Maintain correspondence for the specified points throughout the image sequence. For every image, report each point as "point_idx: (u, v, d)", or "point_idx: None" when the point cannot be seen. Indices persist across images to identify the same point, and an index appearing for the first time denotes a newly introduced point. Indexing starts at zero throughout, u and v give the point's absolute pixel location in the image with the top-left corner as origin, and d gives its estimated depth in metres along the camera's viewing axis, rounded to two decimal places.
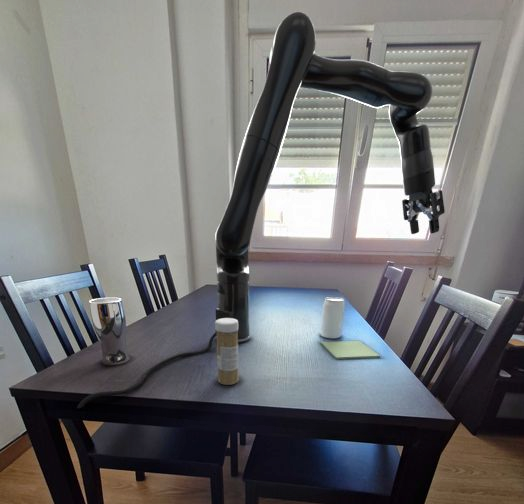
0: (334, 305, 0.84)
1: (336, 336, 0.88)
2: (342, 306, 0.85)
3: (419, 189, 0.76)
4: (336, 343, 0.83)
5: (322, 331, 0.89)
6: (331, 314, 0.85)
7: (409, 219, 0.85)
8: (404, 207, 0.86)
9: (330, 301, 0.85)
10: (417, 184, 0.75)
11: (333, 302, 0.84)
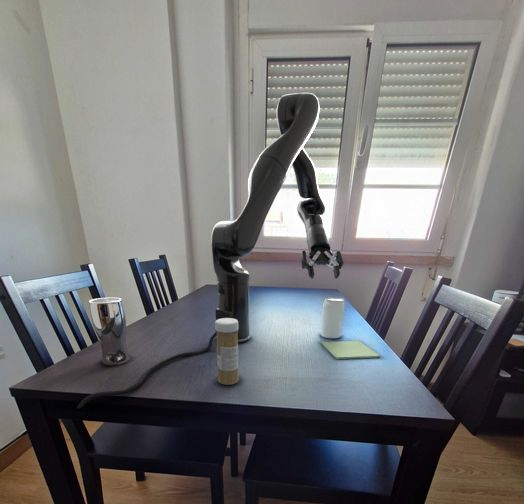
0: (334, 305, 0.84)
1: (336, 336, 0.88)
2: (342, 306, 0.85)
3: (329, 244, 0.98)
4: (336, 343, 0.83)
5: (322, 331, 0.89)
6: (331, 314, 0.85)
7: (311, 263, 0.96)
8: (305, 255, 0.97)
9: (330, 301, 0.85)
10: (328, 241, 0.99)
11: (333, 302, 0.84)
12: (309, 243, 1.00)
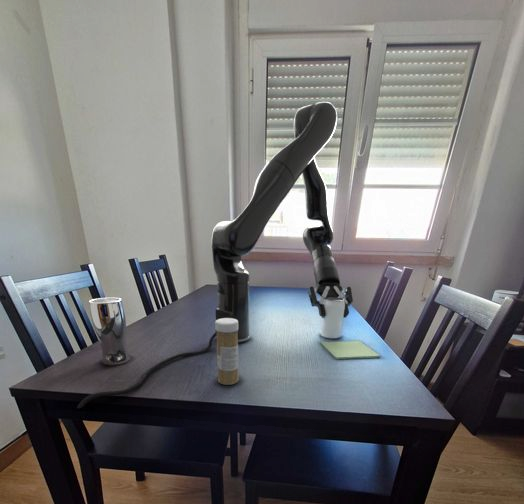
0: (334, 305, 0.84)
1: (336, 336, 0.88)
2: (342, 306, 0.85)
3: None
4: (336, 343, 0.83)
5: (322, 331, 0.89)
6: (331, 314, 0.85)
7: (322, 301, 0.87)
8: (313, 292, 0.88)
9: (330, 301, 0.85)
10: (338, 275, 0.91)
11: (333, 302, 0.84)
12: (317, 276, 0.91)
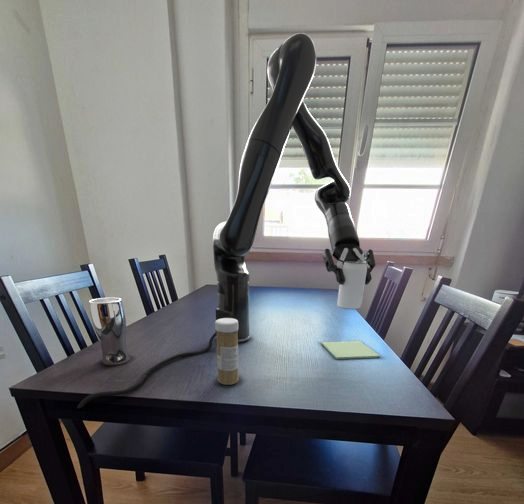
0: (355, 269, 0.71)
1: (356, 306, 0.75)
2: (364, 270, 0.72)
3: None
4: (336, 343, 0.83)
5: (339, 301, 0.76)
6: (351, 280, 0.72)
7: (340, 265, 0.74)
8: (329, 254, 0.75)
9: (350, 263, 0.72)
10: (357, 235, 0.78)
11: (354, 265, 0.71)
12: (333, 238, 0.78)
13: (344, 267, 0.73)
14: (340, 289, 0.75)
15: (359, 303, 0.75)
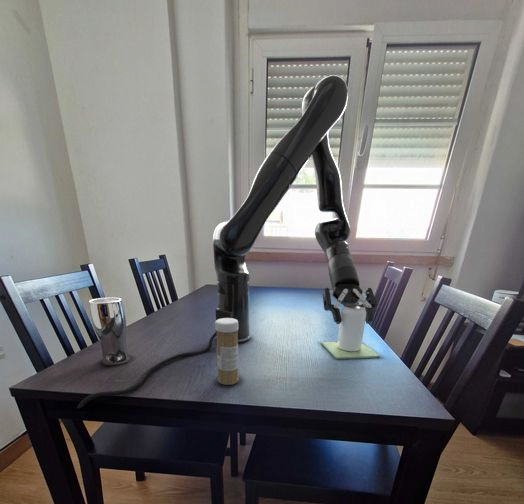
0: (354, 314, 0.73)
1: (356, 349, 0.76)
2: (364, 314, 0.73)
3: (358, 280, 0.78)
4: (336, 343, 0.83)
5: (339, 343, 0.77)
6: (351, 324, 0.74)
7: (337, 305, 0.75)
8: (328, 294, 0.76)
9: (350, 309, 0.73)
10: (357, 275, 0.79)
11: (354, 310, 0.73)
12: (333, 278, 0.79)
13: (344, 311, 0.74)
14: (340, 332, 0.77)
15: (359, 346, 0.76)
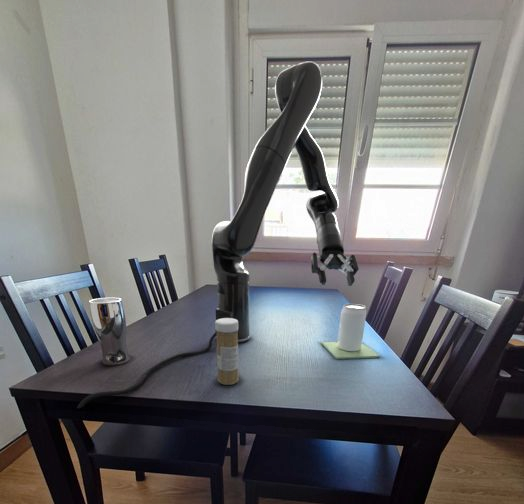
0: (354, 314, 0.73)
1: (356, 349, 0.76)
2: (364, 314, 0.73)
3: None
4: (336, 343, 0.83)
5: (339, 343, 0.77)
6: (351, 324, 0.74)
7: (323, 268, 0.84)
8: (315, 258, 0.85)
9: (350, 309, 0.73)
10: (342, 243, 0.87)
11: (354, 310, 0.73)
12: (320, 244, 0.88)
13: (344, 311, 0.74)
14: (340, 332, 0.77)
15: (359, 346, 0.76)
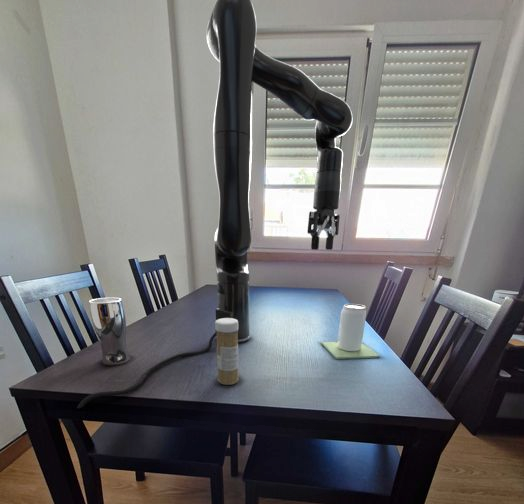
0: (354, 314, 0.72)
1: (356, 349, 0.76)
2: (364, 314, 0.73)
3: None
4: (336, 343, 0.83)
5: (339, 343, 0.77)
6: (351, 324, 0.74)
7: (319, 233, 0.83)
8: (317, 219, 0.81)
9: (350, 309, 0.73)
10: None
11: (354, 310, 0.73)
12: (322, 198, 0.81)
13: (344, 311, 0.74)
14: (340, 332, 0.77)
15: (359, 346, 0.76)
